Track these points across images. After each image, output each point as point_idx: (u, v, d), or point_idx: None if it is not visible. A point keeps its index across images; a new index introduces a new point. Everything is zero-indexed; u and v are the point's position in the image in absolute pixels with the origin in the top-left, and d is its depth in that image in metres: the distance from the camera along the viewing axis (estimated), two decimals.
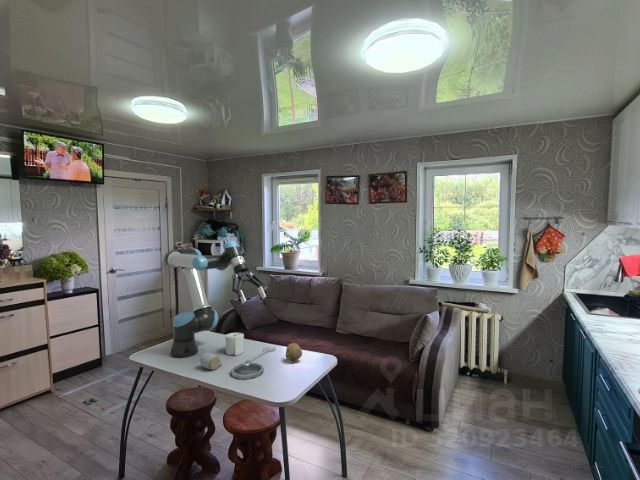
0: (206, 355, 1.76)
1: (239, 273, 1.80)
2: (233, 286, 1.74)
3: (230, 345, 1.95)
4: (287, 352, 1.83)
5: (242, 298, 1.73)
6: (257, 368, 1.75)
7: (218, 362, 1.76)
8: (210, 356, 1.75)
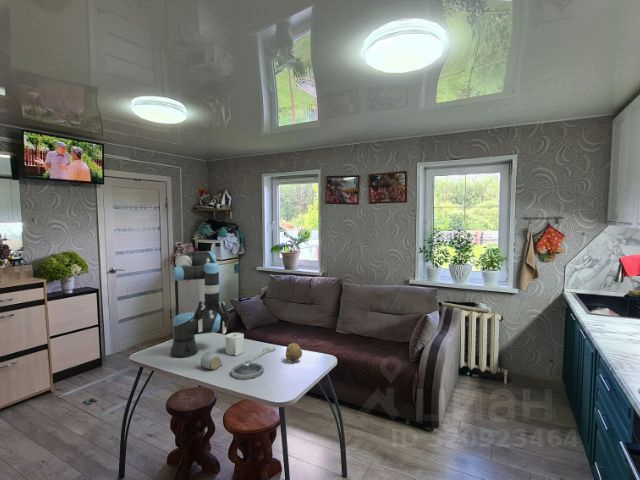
0: (207, 355, 1.76)
1: (205, 302, 1.76)
2: None
3: (230, 345, 1.95)
4: (287, 352, 1.83)
5: None
6: (257, 368, 1.75)
7: (219, 362, 1.76)
8: (211, 356, 1.75)
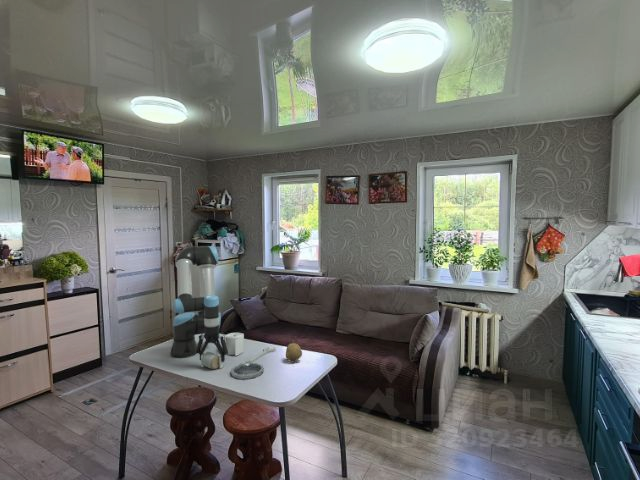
0: (207, 354, 1.77)
1: (205, 335, 1.77)
2: None
3: (230, 345, 1.95)
4: (287, 352, 1.83)
5: None
6: (257, 368, 1.75)
7: (219, 361, 1.77)
8: (211, 355, 1.76)
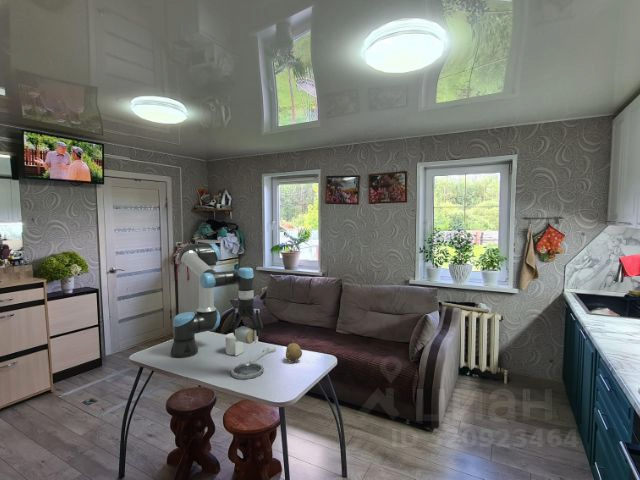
0: (242, 328, 1.70)
1: (239, 308, 1.70)
2: None
3: (230, 345, 1.95)
4: (287, 352, 1.83)
5: None
6: (257, 368, 1.75)
7: (254, 336, 1.70)
8: (246, 329, 1.68)
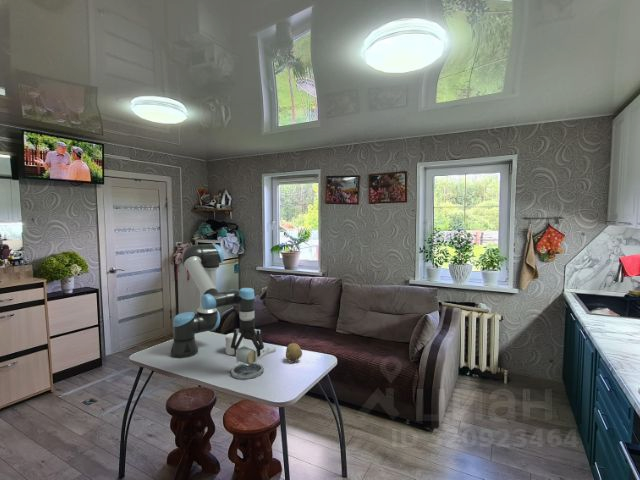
0: (243, 349, 1.70)
1: (240, 329, 1.70)
2: None
3: (230, 345, 1.95)
4: (287, 352, 1.83)
5: None
6: (257, 368, 1.75)
7: (255, 356, 1.70)
8: (247, 350, 1.69)
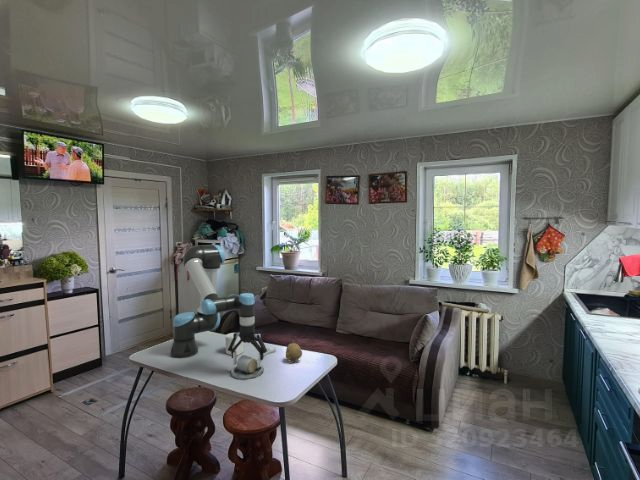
0: (243, 358, 1.70)
1: (240, 334, 1.70)
2: None
3: None
4: (287, 352, 1.83)
5: None
6: (257, 368, 1.75)
7: (255, 365, 1.70)
8: (247, 359, 1.69)
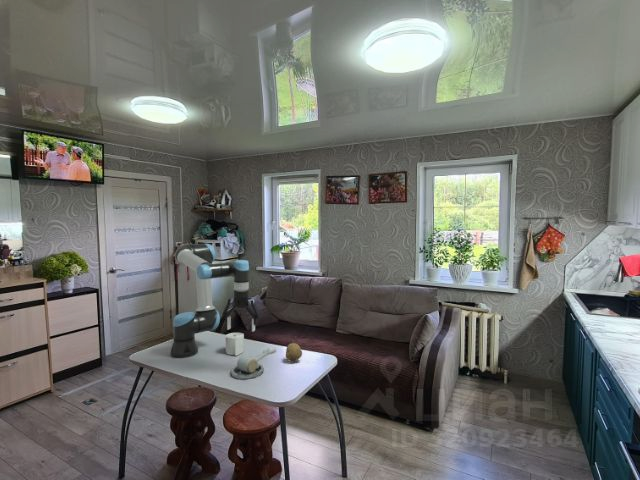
0: (243, 358, 1.70)
1: (234, 299, 1.75)
2: None
3: (230, 345, 1.95)
4: (287, 352, 1.83)
5: None
6: (257, 368, 1.75)
7: (256, 365, 1.71)
8: (248, 359, 1.69)
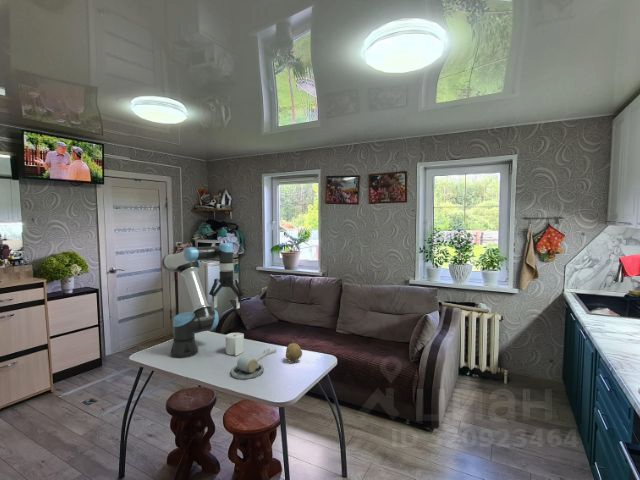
0: (243, 358, 1.70)
1: (220, 279, 1.89)
2: None
3: (230, 345, 1.95)
4: (287, 352, 1.83)
5: None
6: (257, 368, 1.75)
7: (256, 365, 1.71)
8: (248, 359, 1.69)
